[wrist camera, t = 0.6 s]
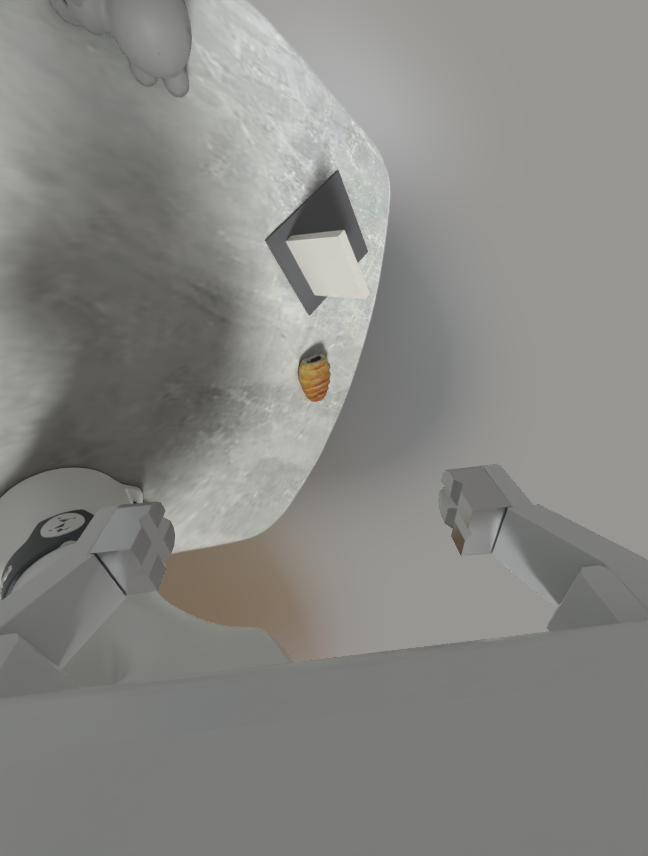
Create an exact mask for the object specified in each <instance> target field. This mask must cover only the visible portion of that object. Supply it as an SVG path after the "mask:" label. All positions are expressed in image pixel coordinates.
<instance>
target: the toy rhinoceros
mask: <svg viewBox="0 0 648 856" xmlns="http://www.w3.org/2000/svg"><path fill="white" fill-rule="evenodd" d="M49 1H50V3H51V4H52V6H53V7H54V8H55V10H56V11H57V13H58V14H59V15H60V16H61V17H62V18H63V19H64V20H65V21H67V22H68V23H70V24H72V25H82V26H83V27H84V28H85V29H87V30H88V31H90V32H92V33H94V34H97V35H103V34H106V33H110V34H112V35H113V37H114V38H115V40H116V41H117V43H118V45H119V47H120V48H121V50H122V51H123V53H124V54H125V55H126V56H127V58H128V59H129V64H130V68H131V71H132V73H133V75H134V77H135V78H136V79H137V80H138V81H139V82H140V83H141V84H142V85H144V86H152V85H154V84H155V83H156V81H157V79H158V78H163V81H164V84H165V86H166V88H167V89H168V91H169V92H170V93H171V94H172V95H174V96H175V97H183V96H185V95H186V94H187V92H188V90H189V80H188V76H187V73H186V71H185V69H184V67H185V65H186V63H187V61H188V59H189V55H190V51H191V43H192V36H191V26H190V20H189V16H188V12H187V9H186V6H185V4H184V1H183V0H49Z"/></svg>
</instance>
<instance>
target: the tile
mask: <svg viewBox="0 0 648 856" xmlns="http://www.w3.org/2000/svg"><path fill="white" fill-rule="evenodd" d="M286 243H287V245H288V247H289V249H290V251H291V253H292V254H293V256H294V258H295V260H296V262H297V264H298V266H299V267H300V269H301V271H302V273H303V275H304V277H305V278H306V280H307V282H308V284H309V286H310V288H311V290H312V291H313V293H314V295H317V296H328V297H339V298H351V299H362V300H365V299H366V298H367V296H368V295H369V294H370V293H369V290H368V288H367V285H366V283H365V280H364V278H363V275H362V273H361V270H360V268H359V265H358V262H357V260H356V257H355V255H354V252H353V250H352V247H351V245H350V242H349V240H348V237H347V235H346V232H345V230H338V231H329V232H320V233H311V234H302V235H293V236H290V237H289V238H288V239H287V240H286Z"/></svg>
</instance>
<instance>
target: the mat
mask: <svg viewBox="0 0 648 856" xmlns="http://www.w3.org/2000/svg"><path fill="white" fill-rule="evenodd" d="M338 230H345V232H346V235H347V237H348V240H349V242H350V245H351V247H352V250H353V252H354V255H355V257H356V260H357V262H359V261H360V260H361V259H362V258H363V257H364V255H365V254H366V253H367V252H368V250H367V248H366V245H365V242H364V240H363V237H362V234H361V231H360V229H359V226H358V223H357V220H356V218H355V215H354V212H353V209H352V207H351V204H350V201H349V198H348V196H347V193H346V190H345V188H344V185H343V182H342V179H341V177H340V174H339V171H337V172H336V173H335V174H334V175H333V176H332V177H330V178H329V179H328V180H327V181H326V182H325V183H324V184H323V185H322V186H321V187H320V188H319V189H318V190H317V191H316V192H315V193H314V194H313V195H312V196H311V197H310V198H309V199H308V200H307V201H306V202H305V203H304V204H303V205H302V206H300V207H299V208H298V209H297V210H296V211H295V212H294V213H293V214H292V215H291V216H290V217H289V218H288V219H287V220H286V221H285V222H284V223H283V224H282V225H281V226H280V227H279V228H278V229H277V230H276V231H275V232H274V233H273V234H271V235H270V236H269V237H268V238H267V239H266V240H265V241H266V243H267V245H268V246H269V248H270V250H271V252H272V253H273V255H274V257H275V258H276V260H277V262H278V264H279V265H280V267H281V269H282V270H283V272H284V274H285V275H286V277H287V279H288V281H289V282H290V284H291V286H292V287H293V289H294V291H295V293H296V294H297V296H298V298H299V299H300V301H301V303H302V304H303V306H304V308H305V310H306V311H307V313H308V315H311V314H312V313H313V311H314V310H315V309H316V308H317V307H318V306H319V305H320V304H321V303H322V302H323V300H324V299H325V298H326V297H327V296H317V295H314V293H313V291H312V290H311V288H310V286H309V284H308V282H307V280H306V278H305V277H304V275H303V273H302V271H301V269H300V267H299V266H298V264H297V262H296V260H295V258H294V256H293V254H292V253H291V251H290V249H289V247H288V245H287V243H286V240H287V239H288V238H289V237H290V236H293V235H302V234H311V233H320V232H329V231H338Z"/></svg>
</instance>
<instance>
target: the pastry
mask: <svg viewBox="0 0 648 856" xmlns="http://www.w3.org/2000/svg"><path fill="white" fill-rule="evenodd" d="M329 369H330V364H329V363H328V362H327V358H326V356H325V355H324V354H318V355H316V354H315V355H312V356H311V357H309V358H305V359H303V360H302V361H301V363H300V366H299V369H298V375H299V381H300V384H301V386H302V388H303V391H304V393H305V395H306V397H307V398H308V399H310V400H311V401H314V402H317V401H321V400H323V399H324V397H325V395H326V393H327V390H328V384H329V383H330V380H329V378H330V375H331V374H330V372H329Z"/></svg>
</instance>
